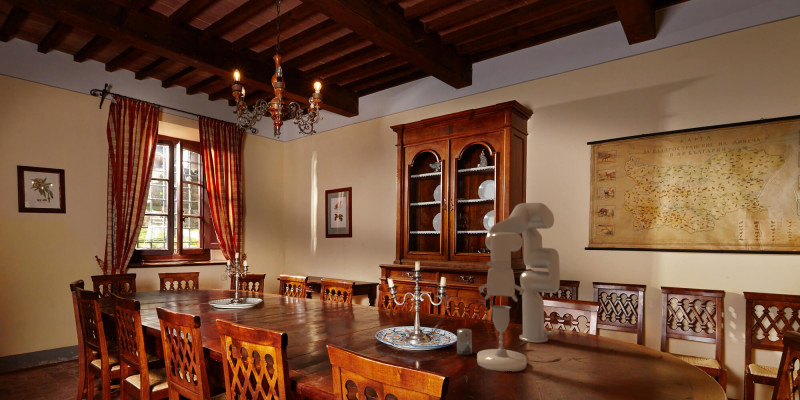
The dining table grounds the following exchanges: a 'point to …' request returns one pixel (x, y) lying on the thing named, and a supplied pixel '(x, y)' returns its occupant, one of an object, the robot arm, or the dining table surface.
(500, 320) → the chalice
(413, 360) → the dining table surface
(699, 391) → the dining table surface
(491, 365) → the stand
